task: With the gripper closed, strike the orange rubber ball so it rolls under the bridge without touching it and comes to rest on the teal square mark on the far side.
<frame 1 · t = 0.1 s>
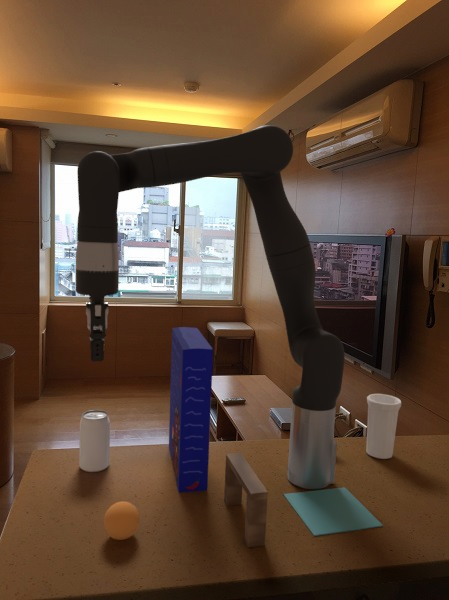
hand: (96, 355, 90), 29 cm above the counter, tool pointing down, fingers open, 8 cm apart
can: (94, 466, 108), on the counter
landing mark: (330, 509, 95), on the counter
ball: (121, 520, 83), on the counter
cereal box: (186, 467, 110), on the counter
cup: (379, 455, 121), on the counter
bridge: (242, 521, 90), on the counter
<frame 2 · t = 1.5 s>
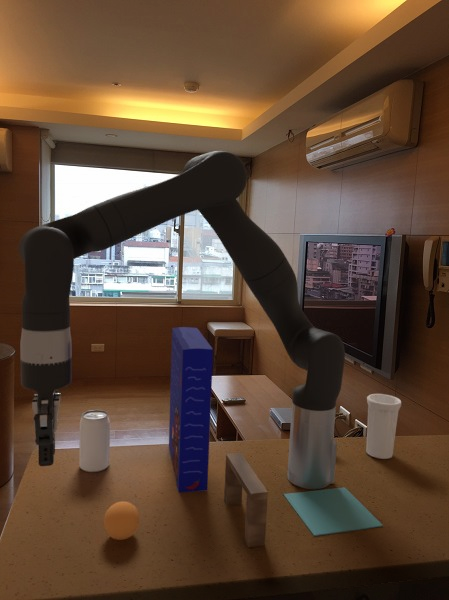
hand: (47, 459, 79), 15 cm above the counter, tool pointing down, fingers open, 3 cm apart
nothing on the counter moved.
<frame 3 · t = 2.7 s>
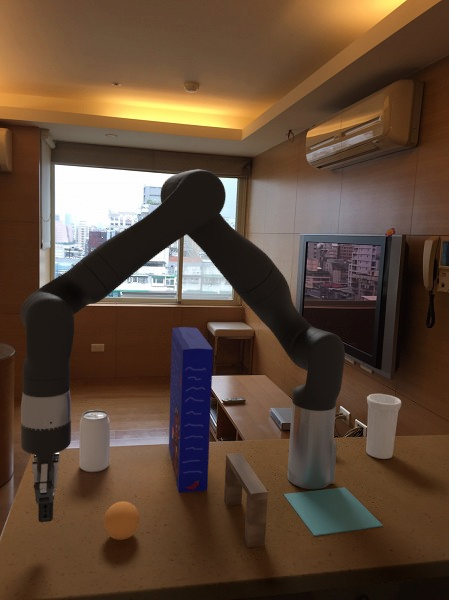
hand: (46, 519, 80), 5 cm above the counter, tool pointing down, fingers closed
nothing on the counter moved.
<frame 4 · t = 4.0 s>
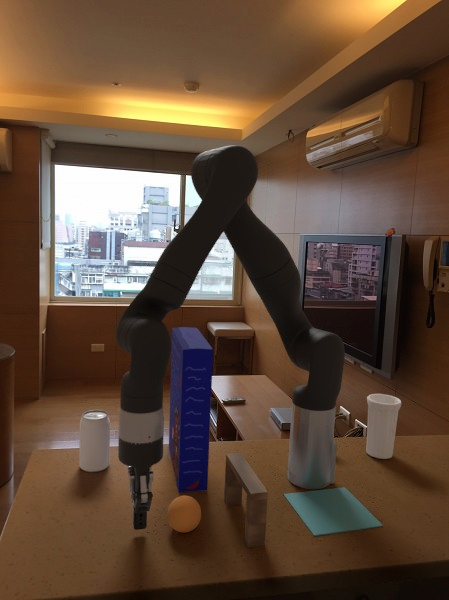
hand: (139, 526, 85), 1 cm above the counter, tool pointing down, fingers closed
ball: (184, 513, 86), on the counter
everything else where it was.
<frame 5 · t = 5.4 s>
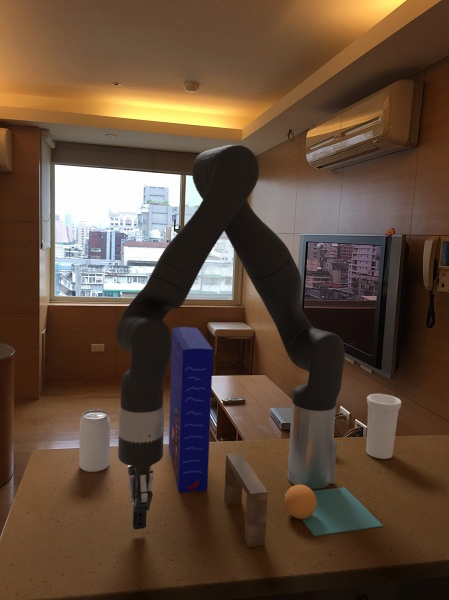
hand: (139, 526, 84), 2 cm above the counter, tool pointing down, fingers closed
ball: (300, 501, 92), on the counter
everything else where it was.
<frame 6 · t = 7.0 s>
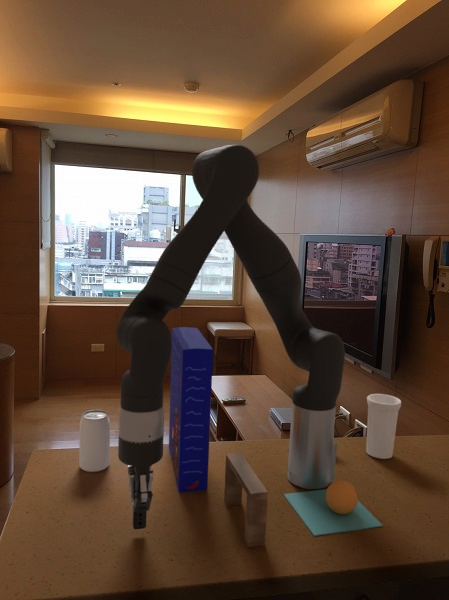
hand: (139, 526, 84), 2 cm above the counter, tool pointing down, fingers closed
ball: (341, 497, 94), on the counter
everything else where it was.
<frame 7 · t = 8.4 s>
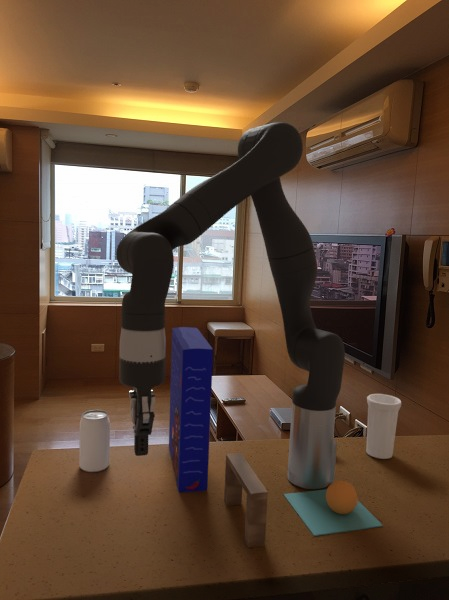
hand: (141, 453, 83), 15 cm above the counter, tool pointing down, fingers closed
nothing on the counter moved.
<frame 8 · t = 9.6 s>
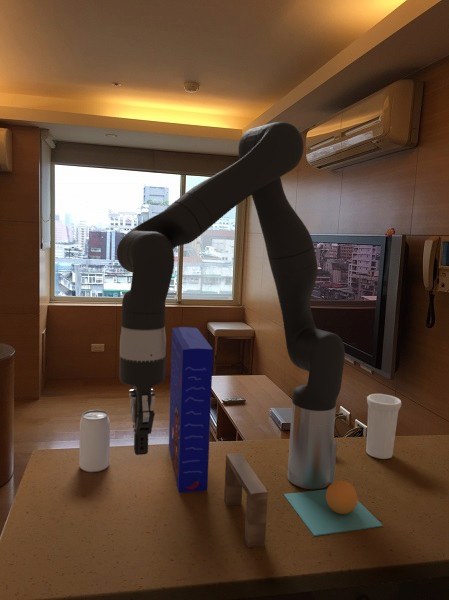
hand: (140, 452, 83), 15 cm above the counter, tool pointing down, fingers closed
nothing on the counter moved.
at the end: ball 1.8 cm from the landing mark (horizontally); ball never touched bridge; ball at rest at the end (0.0 cm/s) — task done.
